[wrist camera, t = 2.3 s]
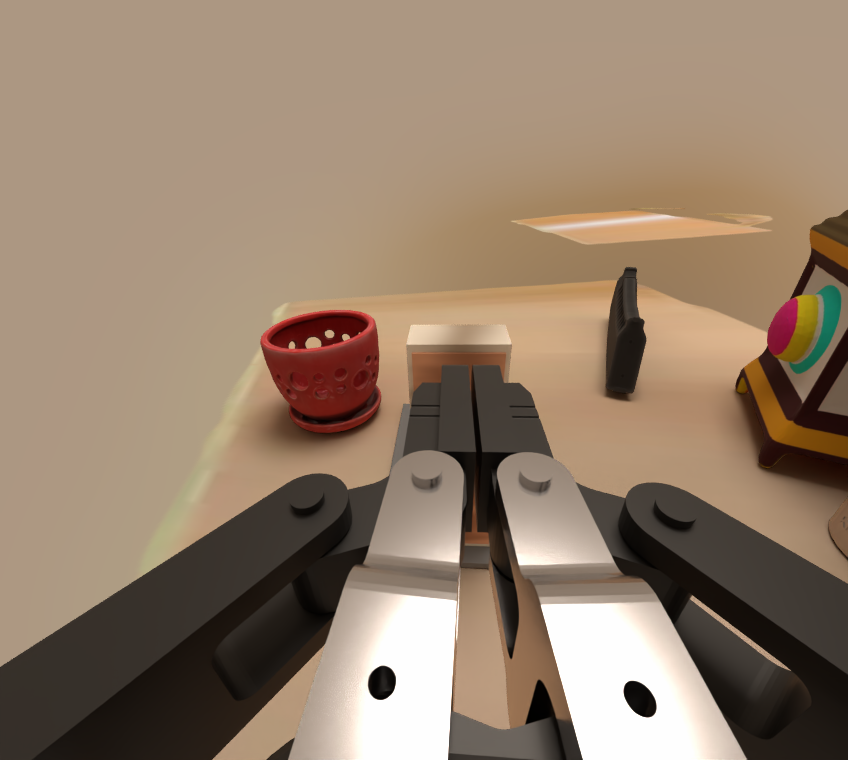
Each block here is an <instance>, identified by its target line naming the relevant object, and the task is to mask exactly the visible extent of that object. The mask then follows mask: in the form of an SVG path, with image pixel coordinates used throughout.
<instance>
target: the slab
mask: <svg viewBox="0 0 848 760" xmlns="http://www.w3.org/2000/svg"><path fill="white" fill-rule="evenodd" d="M406 347H407V364H408V380H409V397H410V408H411V402H412V396H413V392H414V391H415V390H416V389H417V388H418V387H419V386H420V385H421V383H422V382H430V383H441V372H442V365H468V367H469V378H470V390H471V372H472V365H499V366H500V369H501V373H502V377H503V381H504V383H508V379H509V369H510V359H511V349H512V343H511V340H510V337H509V334H508V331H507V328H506V326H505V325H411V328H410V332H409V336H408V340H407V344H406ZM465 546H488V547H490V546H489V536H488V533H484V532H477V524H476V510H475V496H474V498H473V516H472V532H465Z"/></svg>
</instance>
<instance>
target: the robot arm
mask: <svg viewBox="0 0 848 760" xmlns="http://www.w3.org/2000/svg"><path fill="white" fill-rule="evenodd" d="M474 496H475V510H476V524H477V532H484V533H488V536H489V546H490V552H489V563H488V566H489V574H490V579H491V585H492V591H493V597H494V603H495V609H496V615H497V621H498V627H499V633H500V639H501V644H502V650H503V656H504V663H505V671H506V688H507V705H508V715H509V723H510V729H507V730H502V729H496V728H493V727H491V726H488V725H486V724H483V723H481V722H478V721H476V720H473V719H471V718H469V717H466V716H464V715H461V714H459V713H456V712H454V699H455V675H456V654H457V634H458V614H459V594H460V574H461V563H462V561H463V558H464V551H465V532H472V516H473V498H474ZM829 531H830V534H831V537H832V538H833V540H834V541H835V543H836V545H837V546H838V547H839V548H840V549H841V551H842V552H843V553H844V554H845V555H846V556H847V557H848V497H847V498H846V500H845V501H844V502H843V504H842V505H841V506H840V508H839V509H838V510H837V511H836V513H835V514H834V515H833V517H832V518H831V519H830V521H829ZM692 595H693V596H694V597H695V598H697V599H698V600H699V601H701V602H702V603H703V604H705V605H706V606H707V607H709V608H710V609H711V610H713V611H714V612H715V613H717V614H718V615H719V616H721V617H722V618H723V619H725V620H726V621H727V622H729V623H730V624H731V625H732V626H734V627H735V628H736V629H738V630H739V631H740V632H742V633H743V634H744V635H746V636H747V637H748V638H750V639H751V640H752V641H754V642H755V643H756V644H758V645H759V646H760V647H762V648H763V649H764V650H765V651H767V652H768V653H769V654H771V655H772V656H773V657H775V658H776V659H777V660H779V661H780V662H781V663H783V664H784V665H785V666H786V667H788V668H789V669H790V670H791V671H789V670H786V669H784V668H782V667H780V666H778V665H776V664H774V663H773V662H771V661H770V660H768V659H767V658H765V657H764V656H763V655H762V654H760V653H759V652H758V651H756V650H755V649H754V648H752V647H751V646H750V645H749V644H747V643H746V642H745V641H743V640H742V639H741V638H739V637H738V636H737V635H736V634H734V633H733V632H732V631H730V630H729V629H728V628H726V627H725V626H724V625H723V624H721V623H720V622H719V621H717V620H716V619H715V618H713V617H712V616H711V615H710V614H708V613H707V612H706V611H704V610H703V609H702V608H700V607H699V606H698V605H697V604H695V603H694V602H693V601H691V600H690V598H691V596H692ZM324 645H325V647H324V650H323V653H322V656H321V659H320V662H319V666H318V669H317V672H316V675H315V678H314V681H313V684H312V687H311V690H310V693H309V696H308V700H307V703H306V706H305V709H304V712H303V715H302V718H301V721H300V724H299V727H298V730H297V734H296V737H295V738H293V739H292V740H290V741H289V742H288V743H286V744H285V745H284V746H282V747H281V748H280V749H279V750H277V751H276V752H275V753H273V754H272V755H271V756H270V757H269V758H268V759H267V760H848V584H847V583H845V582H844V581H842V580H840V579H839V578H837V577H835V576H833V575H832V574H830V573H828V572H826V571H825V570H823V569H821V568H819V567H818V566H816V565H814V564H812V563H811V562H809V561H807V560H806V559H804V558H802V557H800V556H799V555H797V554H795V553H793V552H792V551H790V550H788V549H786V548H785V547H783V546H781V545H779V544H778V543H776V542H774V541H772V540H771V539H769V538H767V537H766V536H764V535H762V534H760V533H759V532H757V531H755V530H753V529H752V528H750V527H748V526H746V525H745V524H743V523H741V522H739V521H738V520H736V519H734V518H733V517H731V516H729V515H727V514H726V513H724V512H722V511H720V510H719V509H717V508H715V507H713V506H712V505H710V504H708V503H706V502H705V501H703V500H701V499H700V498H698V497H696V496H694V495H692V494H691V493H689V492H687V491H685V490H682V489H680V488H677V487H674V486H671V485H667V484H662V483H643V484H639V485H636V486H635V487H633V488H631V490H630V491H629V492H628V494H627V496H626V498H622V497H619V496H615V495H611V494H607V493H603V492H600V491H596V490H593V489H590V488H587V487H585V486H582V485H580V484H578V483H576V482H575V480H574V478H573V476H572V474H571V473H570V471H569V470H568V469H567V468H566V467H565V466H564V465H563V464H562V463H560V462H559V461H557V460H555V459H554V458H553V455H552V452H551V450H550V447H549V444H548V441H547V438H546V435H545V432H544V430H543V427H542V424H541V421H540V419H539V415H538V412H537V410H536V408H535V404H534V401H533V398H532V395H531V393H530V392H529V391H528V390H526V389H525V388H524V387H523V386H522V385H521V384H520V383H504V381H503V377H502V373H501V369H500V366H499V365H472V372H471V390H470V378H469V367H468V365H442V372H441V383H430V382H422V383H421V385H420V386H419V387H418V388H417V389H416V390H415V391H414V392H413V396H412V402H411V408H410V415H409V421H408V427H407V433H406V439H405V445H404V451H403V457H402V458H401V459H400V460H399V461H398V462H397V463H396V464H395V465H394V467H393V468H392V471H391V474H390V475H389V476H388V477H386V478H385V479H383V480H381V481H379V482H376V483H373V484H370V485H366V486H362V487H358V488H353V489H349V490H347V487H346V486H345V484H344V483H343V482H342V481H341V480H340V479H338V478H337V477H335V476H332V475H328V474H310V475H305V476H302V477H299V478H296V479H294V480H292V481H290V482H289V483H287V484H285V485H284V486H282V487H281V488H279V489H278V490H276V491H274V492H273V493H271V494H270V495H268V496H267V497H265V498H263V499H262V500H260V501H259V502H257V503H256V504H254V505H253V506H251V507H249V508H248V509H246V510H245V511H243V512H242V513H240V514H238V515H237V516H235V517H234V518H232V519H231V520H229V521H228V522H226V523H224V524H223V525H221V526H220V527H218V528H217V529H215V530H213V531H212V532H210V533H209V534H207V535H206V536H204V537H203V538H201V539H199V540H198V541H196V542H195V543H193V544H192V545H190V546H188V547H187V548H185V549H184V550H182V551H181V552H179V553H178V554H176V555H174V556H173V557H171V558H170V559H168V560H167V561H165V562H163V563H162V564H160V565H159V566H157V567H156V568H154V569H153V570H151V571H149V572H148V573H146V574H145V575H143V576H142V577H140V578H138V579H137V580H135V581H134V582H132V583H131V584H129V585H128V586H126V587H124V588H123V589H121V590H120V591H118V592H117V593H115V594H113V595H112V596H110V597H109V598H107V599H106V600H104V601H103V602H101V603H100V604H98V605H96V606H95V607H93V608H92V609H90V610H88V611H87V612H86V613H84V614H82V615H81V616H79V617H78V618H76V619H74V620H73V621H71V622H70V623H68V624H67V625H65V626H63V627H62V628H60V629H59V630H57V631H56V632H54V633H53V634H51V635H49V636H48V637H46V638H45V639H43V640H42V641H40V642H39V643H37V644H35V645H34V646H33V647H31V648H29V649H28V650H26V651H24V652H23V653H21V654H20V655H18V656H17V657H15V658H13V659H12V660H11V661H9V662H7V663H6V664H4V665H3V666H1V667H0V760H212V759H213V758H214V757H215V756H216V755H217V754H218V753H219V752H220V751H221V750H222V749H223V748H224V747H225V746H226V745H227V744H228V743H229V742H230V741H231V740H232V739H233V738H234V737H235V736H236V735H237V734H238V733H239V732H240V731H241V730H242V729H243V728H244V727H245V726H246V724H247V723H248V722H249V721H250V720H251V719H252V718H253V717H254V716H255V715H256V714H257V713H258V712H259V711H260V710H261V709H262V708H263V707H264V706H265V705H266V704H267V703H268V702H269V701H270V700H271V699H272V698H273V697H274V696H275V695H276V694H277V693H278V692H279V691H280V690H281V689H282V688H283V687H284V686H285V685H286V683H287V682H288V681H289V680H290V679H291V678H292V677H293V676H294V675H295V674H296V673H297V672H298V671H299V670H300V669H301V668H302V667H303V666H304V665H305V664H306V663H307V662H308V661H309V660H310V659H311V658H312V657H313V656H314V655H315V654H316V653H317V652H318V651H319V650H320V649H321V648H322V647H323V646H324Z"/></svg>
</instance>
